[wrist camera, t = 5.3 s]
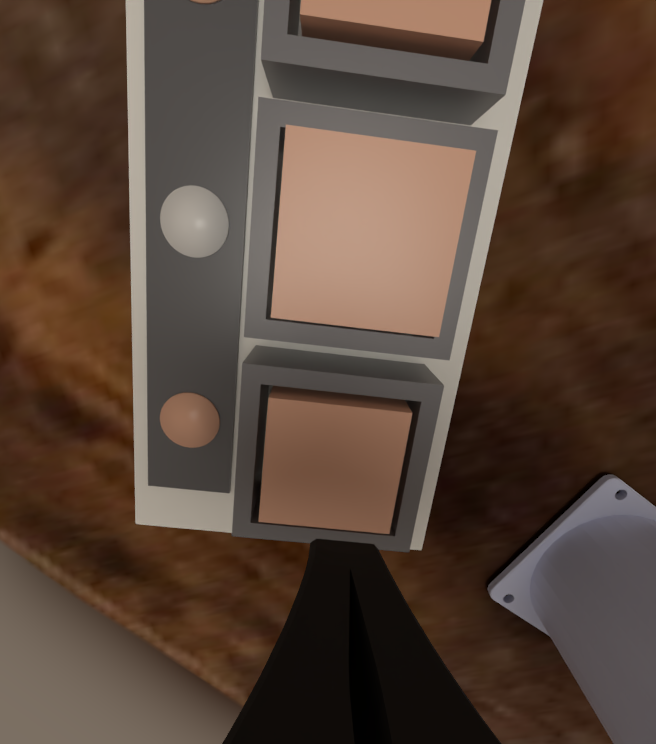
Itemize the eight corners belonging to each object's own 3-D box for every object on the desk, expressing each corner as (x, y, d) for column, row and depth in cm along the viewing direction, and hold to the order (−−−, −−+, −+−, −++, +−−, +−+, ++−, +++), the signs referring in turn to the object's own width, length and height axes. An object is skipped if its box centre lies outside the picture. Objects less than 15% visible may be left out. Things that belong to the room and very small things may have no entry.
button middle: (418, 322, 13) (439, 337, 10) (280, 306, 13) (270, 317, 10) (445, 171, 12) (476, 150, 9) (293, 150, 11) (285, 124, 9)
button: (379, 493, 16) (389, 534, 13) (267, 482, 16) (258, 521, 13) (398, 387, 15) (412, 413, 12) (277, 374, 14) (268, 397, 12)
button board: (414, 527, 18) (437, 598, 15) (150, 502, 18) (103, 569, 14) (558, -162, 12) (673, -363, 8) (146, -234, 11) (54, -487, 7)
